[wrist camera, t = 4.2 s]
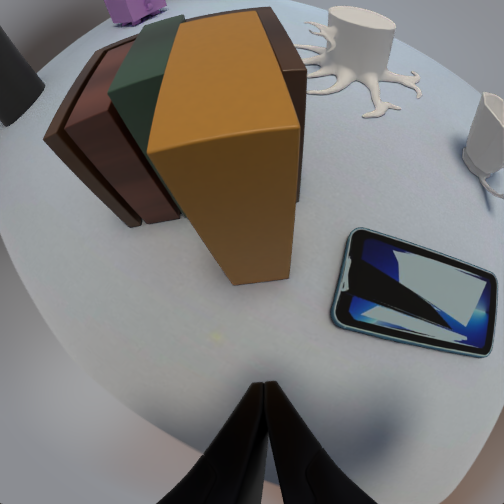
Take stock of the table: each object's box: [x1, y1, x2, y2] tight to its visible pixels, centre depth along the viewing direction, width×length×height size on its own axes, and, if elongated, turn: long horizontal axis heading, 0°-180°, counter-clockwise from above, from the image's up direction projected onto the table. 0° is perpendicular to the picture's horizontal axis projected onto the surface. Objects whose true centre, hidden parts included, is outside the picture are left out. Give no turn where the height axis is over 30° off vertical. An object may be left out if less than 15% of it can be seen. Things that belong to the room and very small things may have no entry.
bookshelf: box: [43, 7, 307, 227], centre depth 18 cm, size 11×14×13 cm
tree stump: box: [293, 6, 422, 118], centre depth 24 cm, size 20×19×8 cm
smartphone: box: [331, 227, 498, 358], centre depth 17 cm, size 7×1×15 cm
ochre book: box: [147, 11, 300, 285], centre depth 15 cm, size 10×4×14 cm, turn 6°
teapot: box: [104, 0, 167, 26], centre depth 41 cm, size 20×10×12 cm, turn 50°
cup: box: [462, 92, 504, 199], centre depth 17 cm, size 7×10×8 cm
